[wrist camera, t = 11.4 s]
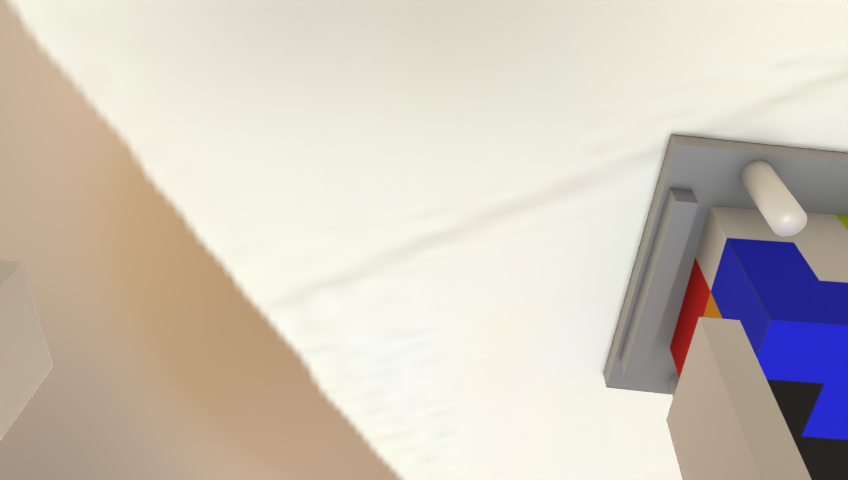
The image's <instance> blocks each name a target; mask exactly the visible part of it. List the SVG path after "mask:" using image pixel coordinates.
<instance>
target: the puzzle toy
mask: <svg viewBox="0 0 848 480" xmlns="http://www.w3.org/2000/svg"><path fill="white" fill-rule="evenodd" d="M805 213H806V215H807V223H806V225H805V227H804V228H803V229H802V230H801V231H800V232H799V233H797V234H795V235H793V236H788V237H783V236H779V235H777V234H775V233H774V232H773V230H772V229H771V227H770V226H769V224H768V222H767V221H766V219H765V218H764V216H763V215H762V213H761V212H760V210H759V209H749V208H735V207H720V206H709V210H708V213H707V217H706V221H705V224H704V228H703V231H702V235H701V238H700V242H699V246H698V249H697V253H696V256H695V260H694V263H693V267H692V271H691V274H690V278H689V281H688V285H687V288H686V292H685V296H684V299H683V303H682V306H681V310H680V313H679V317H678V321H677V324H676V328H675V331H674V335H673V338H672V342H671V346H670V351H671V354H672V357H673V360H674V363H675V366H676V369H677V372H678V375H679V378H680V375H681V372H682V369H683V366H684V363H685V360H686V356H687V353H688V350H689V347H690V344H691V341H692V337H693V334H694V331H695V328H696V325H697V322H698V318H699V317H707V318H720V319H732V320H740V322H741V324H742V326H743V328H744V331H745V333H746V335H747V337H748V340H749V342H750V344H751V346H752V348H753V351H754V353H755V355H756V357H757V359H758V362H759V364H760V366H761V368H762V371H763V373H764V375H765V377H766V379H767V382H768V384H769V386H770V388H771V391H772V393H773V395H774V397H775V399H776V402H777V404H778V406H779V408H780V410H781V413H782V415H783V417H784V419H785V422H786V424H787V426H788V428H789V430H790V433H791V435H792V437H793V439H794V442H795V444H796V446H797V448H798V450H799V453H800V455H801V457H802V459H803V462H804V464H805V466H806V468H807V470H808V473H809V475H810V477H811V479H812V480H848V215H838V214H823V213H808V212H805Z"/></svg>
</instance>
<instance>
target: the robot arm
mask: <svg viewBox="0 0 848 480" xmlns="http://www.w3.org/2000/svg"><path fill="white" fill-rule="evenodd" d="M52 368H53V364H52V361H51V357H50V354H49V350H48V347H47V344H46V340H45V337H44V334H43V330H42V327H41V323H40V320H39V317H38V313H37V310H36V306H35V303H34V300H33V296H32V293H31V289H30V286H29V283H28V279H27V276H26V272H25V269H24V266H23V263H22V262H18V261H5V260H0V441H1V440H2V438H3V437H4V436H5V434H6V433H7V431H8V430H9V429H10V427H11V426H12V424H13V423H14V422H15V420H16V419H17V417H18V416H19V414H20V413H21V412H22V410H23V409H24V408H25V406H26V405H27V403H28V402H29V401H30V399H31V398H32V396H33V395H34V394H35V392H36V391H37V389H38V388H39V387H40V385H41V384H42V382H43V381H44V380H45V378H46V377H47V375H48V374H49V373H50V371H51V370H52ZM667 423H668V427H669V431H670V434H671V438H672V442H673V445H674V449H675V453H676V456H677V460H678V464H679V467H680V471H681V475H682V479H683V480H812V479H811V477H810V475H809V473H808V470H807V468H806V466H805V464H804V462H803V459H802V457H801V455H800V453H799V450H798V448H797V446H796V444H795V442H794V439H793V437H792V435H791V433H790V430H789V428H788V426H787V424H786V422H785V419H784V417H783V415H782V413H781V410H780V408H779V406H778V404H777V402H776V399H775V397H774V395H773V393H772V391H771V388H770V386H769V384H768V382H767V379H766V377H765V375H764V373H763V371H762V368H761V366H760V364H759V362H758V359H757V357H756V355H755V353H754V351H753V348H752V346H751V344H750V342H749V340H748V337H747V335H746V333H745V331H744V328H743V326H742V324H741V322H740V320H732V319H720V318H707V317H699V318H698V322H697V325H696V328H695V331H694V334H693V337H692V341H691V344H690V347H689V350H688V353H687V356H686V360H685V363H684V366H683V369H682V372H681V375H680V379H679V382H678V385H677V388H676V391H675V394H674V398H673V401H672V404H671V407H670V410H669V414H668V417H667Z"/></svg>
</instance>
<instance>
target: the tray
mask: <svg viewBox="0 0 848 480" xmlns="http://www.w3.org/2000/svg"><path fill="white" fill-rule="evenodd" d="M709 206H720V207H735V208H749V209H759V210H760V212H761V213H762V215H763V216H764V218H765V219H766V221H767V222H768V224H769V226H770V227H771V229H772V230H773V232H774V233H775V234H777V235H779V236H783V237H788V236H793V235H795V234H797V233H799V232H800V231H801V230H802V229H803V228H804V227H805V225H806V223H807V215H806V213H805V212H808V213H823V214H838V215H848V153H841V152H831V151H822V150H812V149H803V148H793V147H784V146H774V145H764V144H755V143H745V142H736V141H726V140H717V139H707V138H697V137H688V136H678V135H671V138H670V141H669V145H668V148H667V152H666V156H665V159H664V163H663V166H662V170H661V173H660V177H659V180H658V184H657V187H656V191H655V194H654V198H653V202H652V205H651V209H650V212H649V216H648V219H647V223H646V226H645V230H644V233H643V237H642V240H641V244H640V248H639V251H638V255H637V258H636V262H635V265H634V269H633V272H632V276H631V279H630V283H629V287H628V290H627V294H626V297H625V301H624V304H623V308H622V311H621V315H620V318H619V322H618V325H617V329H616V333H615V336H614V340H613V343H612V347H611V350H610V354H609V357H608V361H607V364H606V368H605V371H604V379H605V384H606V387H608V388H617V389H627V390H636V391H645V392H654V393H664V394H672V396H673V398H674V394H675V391H676V388H677V385H678V382H679V379H680V378H679V375H678V372H677V369H676V366H675V363H674V360H673V357H672V354H671V351H670V346H671V342H672V338H673V335H674V331H675V328H676V324H677V321H678V317H679V313H680V310H681V306H682V303H683V299H684V296H685V292H686V288H687V285H688V281H689V278H690V274H691V271H692V267H693V263H694V260H695V256H696V253H697V249H698V246H699V242H700V238H701V235H702V231H703V228H704V224H705V221H706V217H707V213H708V210H709Z"/></svg>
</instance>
